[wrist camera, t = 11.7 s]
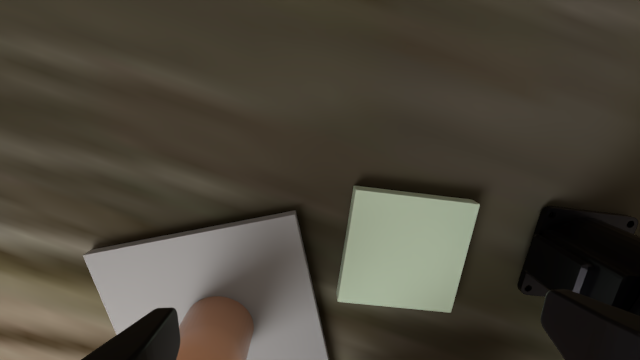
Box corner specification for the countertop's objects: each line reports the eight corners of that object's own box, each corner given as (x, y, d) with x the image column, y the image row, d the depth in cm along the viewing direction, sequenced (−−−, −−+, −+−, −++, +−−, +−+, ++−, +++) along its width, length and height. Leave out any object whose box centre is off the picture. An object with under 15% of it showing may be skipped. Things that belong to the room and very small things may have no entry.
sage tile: (472, 199, 21) (479, 204, 20) (445, 303, 23) (450, 312, 22) (353, 185, 20) (355, 189, 19) (336, 292, 22) (337, 301, 21)
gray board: (295, 210, 21) (295, 214, 20) (333, 378, 24) (334, 387, 23) (91, 249, 21) (82, 255, 20) (157, 409, 24) (152, 419, 24)
